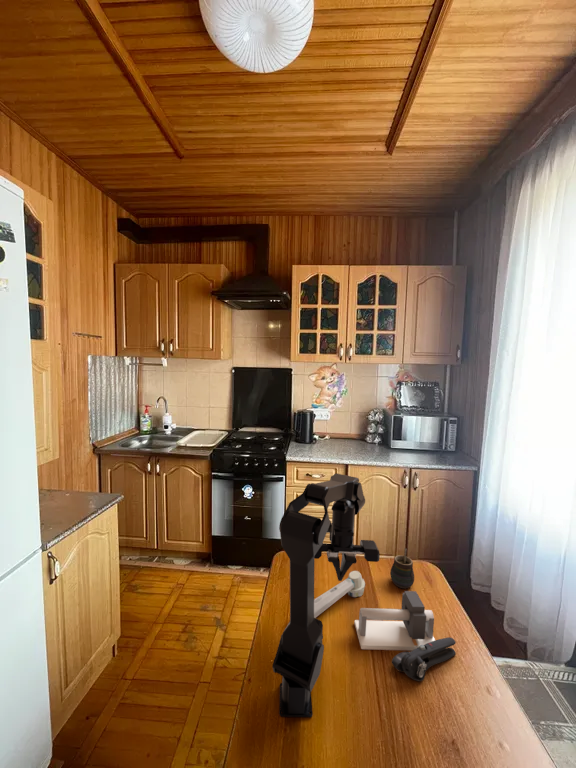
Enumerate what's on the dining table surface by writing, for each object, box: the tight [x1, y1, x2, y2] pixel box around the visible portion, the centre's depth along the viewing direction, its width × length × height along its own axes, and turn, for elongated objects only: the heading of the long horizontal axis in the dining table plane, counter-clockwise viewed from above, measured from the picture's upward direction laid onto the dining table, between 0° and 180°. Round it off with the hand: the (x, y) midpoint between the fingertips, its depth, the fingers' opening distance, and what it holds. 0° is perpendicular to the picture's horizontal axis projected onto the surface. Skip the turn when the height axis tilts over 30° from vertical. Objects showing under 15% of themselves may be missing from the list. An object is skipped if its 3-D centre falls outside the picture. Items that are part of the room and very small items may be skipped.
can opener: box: [391, 636, 457, 682], centre depth 80 cm, size 18×7×6 cm, turn 115°
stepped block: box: [400, 590, 426, 639], centre depth 87 cm, size 8×3×8 cm, turn 1°
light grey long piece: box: [314, 570, 366, 619], centre depth 98 cm, size 5×7×25 cm
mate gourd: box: [390, 547, 415, 590], centre depth 108 cm, size 7×8×10 cm
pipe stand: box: [354, 607, 436, 651], centre depth 87 cm, size 8×19×7 cm, turn 91°
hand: (339, 579), depth 91 cm, fingers closed
